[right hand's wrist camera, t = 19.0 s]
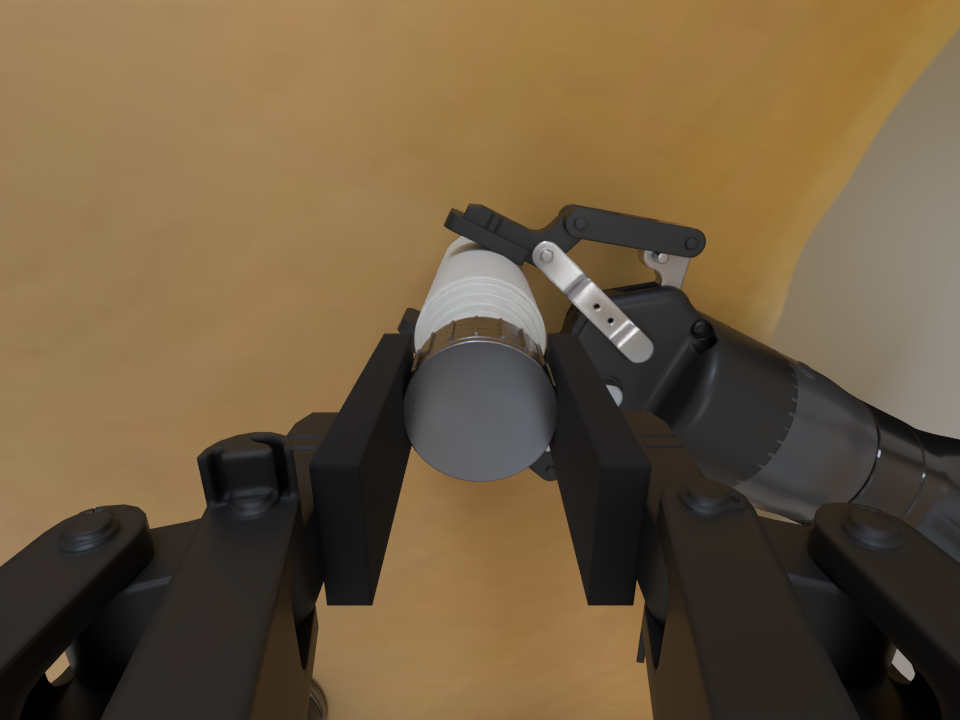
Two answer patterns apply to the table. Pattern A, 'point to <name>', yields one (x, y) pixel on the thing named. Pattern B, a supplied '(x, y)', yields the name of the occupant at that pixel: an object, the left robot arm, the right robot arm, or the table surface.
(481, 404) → the cap
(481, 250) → the bottle
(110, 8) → the table surface
